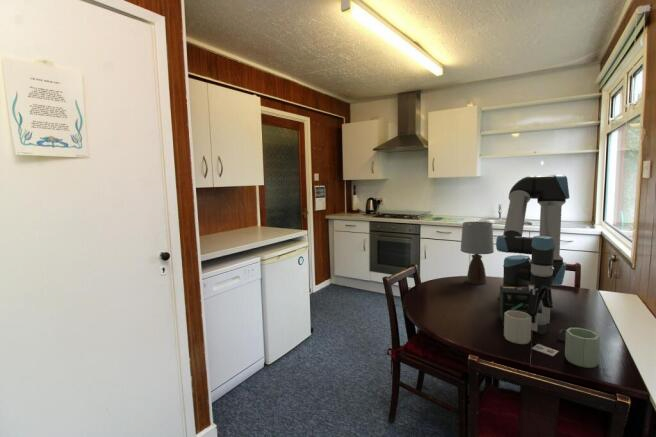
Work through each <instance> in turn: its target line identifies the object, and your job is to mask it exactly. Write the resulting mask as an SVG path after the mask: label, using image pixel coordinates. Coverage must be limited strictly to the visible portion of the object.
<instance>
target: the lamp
mask: <svg viewBox="0 0 656 437" xmlns="http://www.w3.org/2000/svg"><path fill="white" fill-rule="evenodd" d="M461 228H462V230H461V242H460V251H461V252H462V253H464V254H465V253H466V254H469V255H470V254H471V258H472V259H471V260H470V262H469V265H468V269H467V277H466V282H467V283H469V284H471V283H472V285H485V284H486V283H487V274H486V268H485V264H484V262H483V259H482V258H483V256H482V255H490V254H494V252H495V249H494V246H495V245H494V230H493V223H492V222H489V221H465V222H464V221H463V222H462V227H461Z"/></svg>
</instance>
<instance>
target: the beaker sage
mask: <svg viewBox="0 0 656 437" xmlns="http://www.w3.org/2000/svg"><path fill="white" fill-rule="evenodd" d="M565 330H566V338H565V341H564V343H565V344H564V345H565V346H564V357H565V359H566V361H568V363H570V364H573V365H574V366H578V367H581V368H587V369H592V368H596V367H598V364H599V360H600V359H599V358H600V341H601V340H600V337H601V335H599V334H598V333H597V332H595V331H593V330H589V329H586V328H581V327H568V328H567V329H565Z"/></svg>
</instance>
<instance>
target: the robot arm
mask: <svg viewBox="0 0 656 437" xmlns="http://www.w3.org/2000/svg"><path fill="white" fill-rule="evenodd" d="M531 199H534V200H537V204H539V205H540V206H539V207H540V209H539V210H540V214H539V235H534V236H532V237H529V236H523V233H524V224H525V219H526V214H527V213H526V212H527V206H528V203H529V202H530V201H531ZM569 199H570V190H569V180H568V177H567V176H566V175H565V174H549V175H548V174H547V175H546V174H545V175H544V174H543V175H529V176H525V177H523V178H521V179H519V180H518V181H517V182H515V183H514V185H513V186H512V187H511V189H510V190H509V193H508V200H509V204H508V210H507V213H506V214H507V215H506V218H505V219H506V220H505V224H504V229H503V235H497V236H496V239H495V247H496V248H495V249H496V250H497V252H501V253H509V254H515V255H509V256H508V255H507V256H506V257H504V259H503V266H502V267H503V278H502V279H503V282H502V286H511V287H527V289H528V290H529V291H530V299H529V304H528V309H527V313H528V314H530V316H531V331H533V330H534V331H537V325H538V315H537V313H539V312H538V311H539V308H540V305H541V302H542V305H543V306H541V314H544V315H545V316H546V317H547V320H548V321H547V325H548V324H550V320H551V319H550V318H551V309H553V307H554V305H553V296H552V295H553V294H552V286H555V287H557V286H562V285H563V282H564V278H565V275H566V274H565V273H566V268H567V262H565V261H564V258H563V257H562V256H561V255H560V253H561V252H560V251H561V249H560V248H561V232H562V230H561V229H562V227H561V226H562V208H563V207H562V206H563V205H565V203H566V202H567V201H566V200H569ZM529 255H531V257H530V256H529ZM530 283H531V284H533V285H534V288H533V289H532V288H530ZM498 294H499V296H498V298H499V299H500V292H499V293H498ZM534 331H533V332H534Z"/></svg>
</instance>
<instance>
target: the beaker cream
mask: <svg viewBox="0 0 656 437" xmlns="http://www.w3.org/2000/svg"><path fill="white" fill-rule="evenodd" d="M503 327H504V328H503V336H504V338H505V340H507V341H509V342H510V343H514V344H518V345H527V344H530V342H531V341H532V339H531V337H532V330H531V316H530V315H529V314H528V313H525V312H521V311H513V310H508V311H507V312H505V313H504V324H503Z"/></svg>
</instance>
